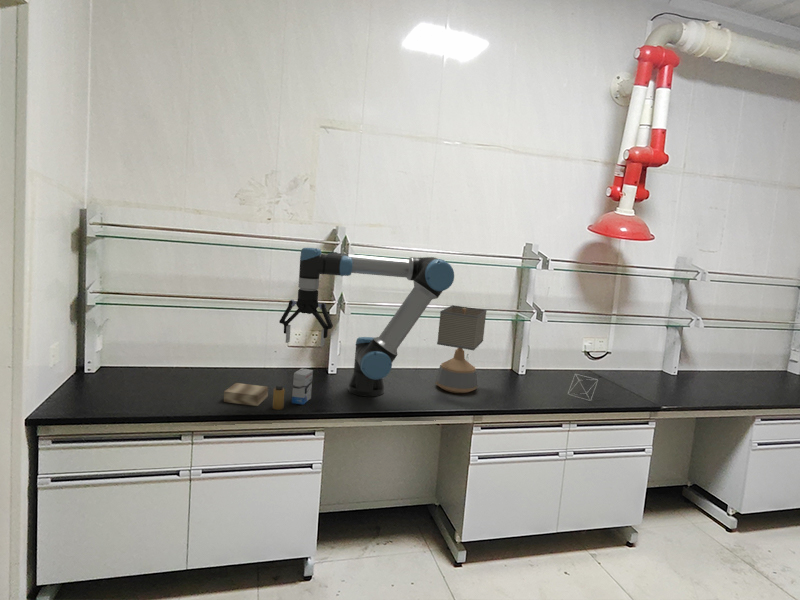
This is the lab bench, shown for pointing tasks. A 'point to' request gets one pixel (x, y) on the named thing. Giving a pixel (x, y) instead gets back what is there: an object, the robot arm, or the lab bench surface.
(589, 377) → the geometric polyhedron
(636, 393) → the lab bench surface
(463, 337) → the desk lamp
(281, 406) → the amber bottle
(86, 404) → the lab bench surface
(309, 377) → the ink box
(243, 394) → the beech plinth
